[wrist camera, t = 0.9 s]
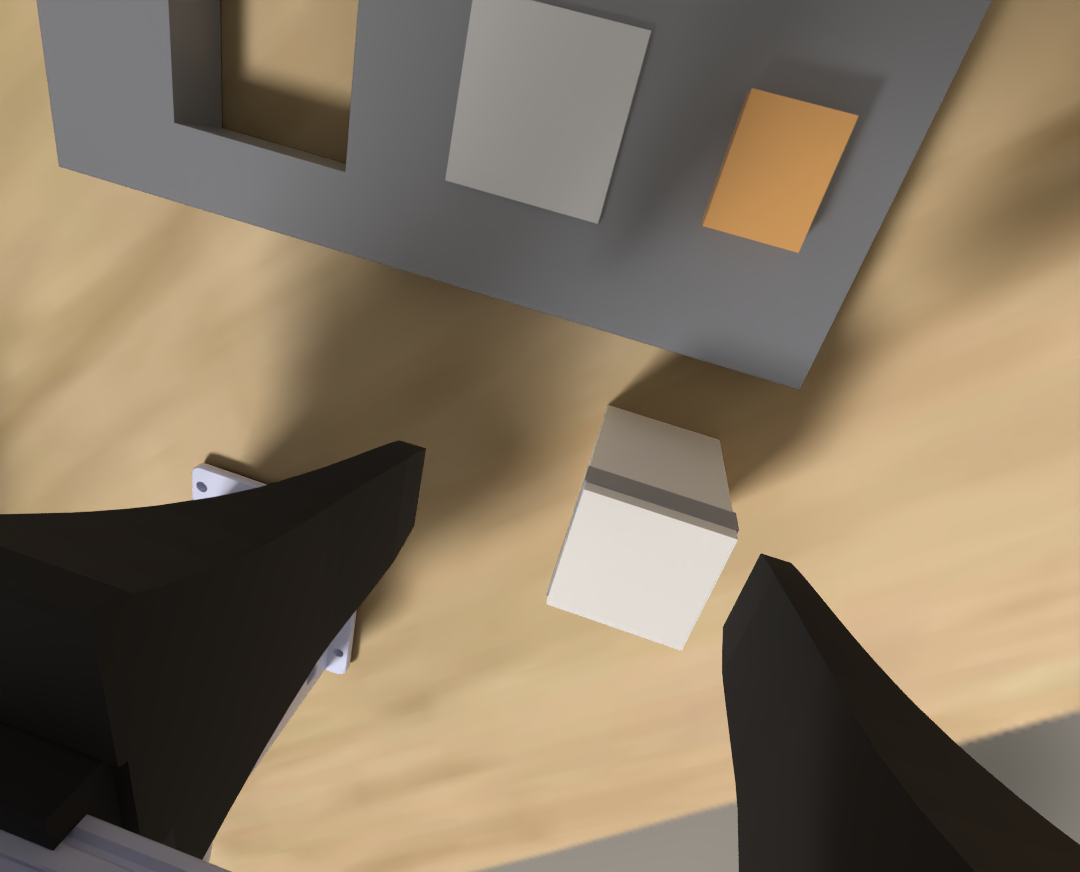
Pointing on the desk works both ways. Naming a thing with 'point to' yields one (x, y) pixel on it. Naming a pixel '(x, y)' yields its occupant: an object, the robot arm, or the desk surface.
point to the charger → (646, 530)
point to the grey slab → (555, 149)
